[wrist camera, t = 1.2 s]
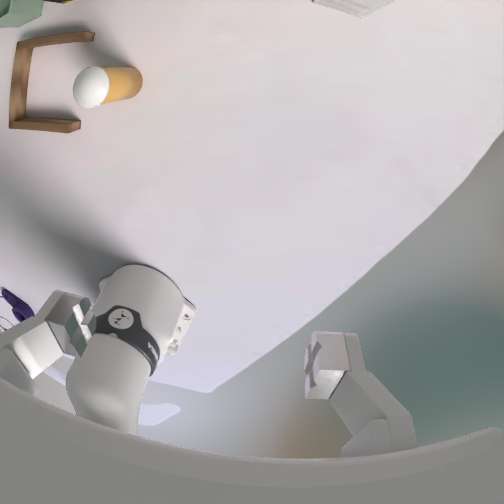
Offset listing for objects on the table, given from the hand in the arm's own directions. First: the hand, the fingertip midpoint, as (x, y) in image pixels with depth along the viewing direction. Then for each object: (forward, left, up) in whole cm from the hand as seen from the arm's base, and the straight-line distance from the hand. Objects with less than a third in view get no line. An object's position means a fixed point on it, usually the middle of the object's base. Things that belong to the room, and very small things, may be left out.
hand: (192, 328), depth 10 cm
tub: (+19, +41, -29) cm, 54 cm away
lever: (-49, +51, -30) cm, 77 cm away
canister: (+5, +18, -29) cm, 35 cm away
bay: (+5, +32, -29) cm, 44 cm away
